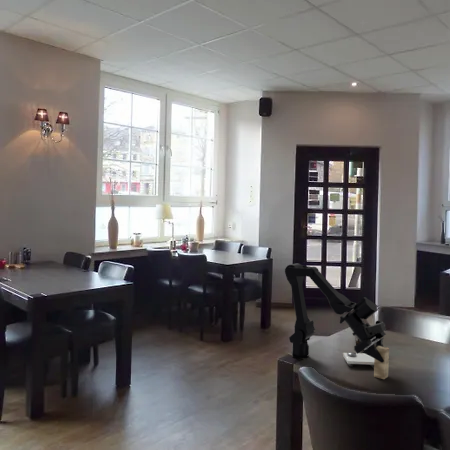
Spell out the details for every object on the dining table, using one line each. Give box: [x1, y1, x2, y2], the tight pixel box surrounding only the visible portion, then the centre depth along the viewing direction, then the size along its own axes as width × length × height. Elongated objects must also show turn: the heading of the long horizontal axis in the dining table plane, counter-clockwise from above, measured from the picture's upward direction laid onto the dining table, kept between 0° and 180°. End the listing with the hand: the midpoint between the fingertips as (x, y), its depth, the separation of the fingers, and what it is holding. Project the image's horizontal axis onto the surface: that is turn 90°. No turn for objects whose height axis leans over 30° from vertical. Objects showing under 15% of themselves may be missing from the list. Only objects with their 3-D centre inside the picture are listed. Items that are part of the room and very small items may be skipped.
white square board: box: [342, 352, 374, 369], centre depth 186 cm, size 12×10×3 cm
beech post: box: [373, 346, 390, 380], centre depth 173 cm, size 4×4×11 cm
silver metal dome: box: [346, 351, 356, 357], centre depth 188 cm, size 4×4×1 cm
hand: (385, 360), depth 172 cm, fingers closed on beech post, 4 cm apart
